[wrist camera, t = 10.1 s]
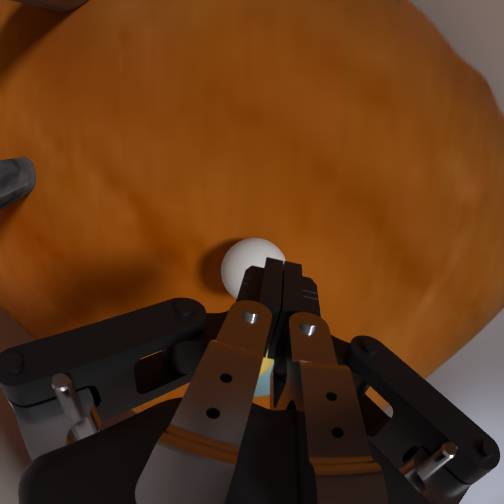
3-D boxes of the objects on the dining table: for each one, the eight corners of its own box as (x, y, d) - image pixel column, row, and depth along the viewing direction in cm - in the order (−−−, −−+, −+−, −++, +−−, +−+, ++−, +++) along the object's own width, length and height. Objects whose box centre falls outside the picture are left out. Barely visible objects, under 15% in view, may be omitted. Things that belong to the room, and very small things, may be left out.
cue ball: (230, 223, 23) (244, 231, 28) (201, 289, 23) (220, 284, 28) (297, 252, 22) (298, 255, 27) (266, 320, 22) (273, 310, 27)
